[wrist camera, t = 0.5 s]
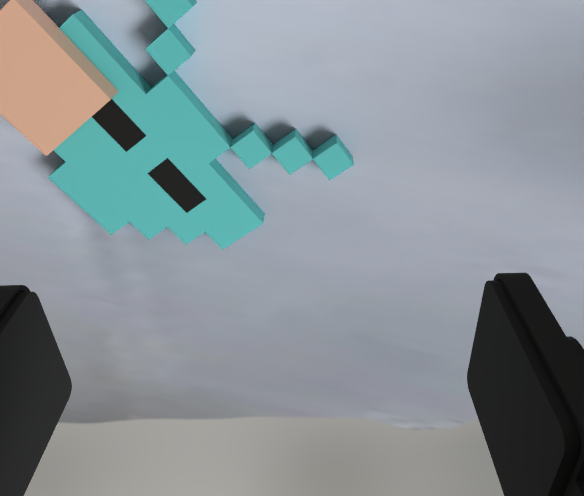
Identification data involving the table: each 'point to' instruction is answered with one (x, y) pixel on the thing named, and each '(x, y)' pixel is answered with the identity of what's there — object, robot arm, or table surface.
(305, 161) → the alien figure
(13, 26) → the terracotta tile
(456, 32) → the table surface
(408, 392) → the table surface
